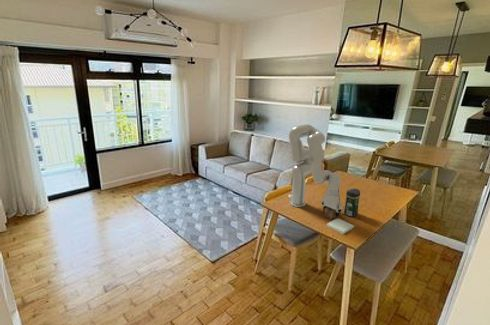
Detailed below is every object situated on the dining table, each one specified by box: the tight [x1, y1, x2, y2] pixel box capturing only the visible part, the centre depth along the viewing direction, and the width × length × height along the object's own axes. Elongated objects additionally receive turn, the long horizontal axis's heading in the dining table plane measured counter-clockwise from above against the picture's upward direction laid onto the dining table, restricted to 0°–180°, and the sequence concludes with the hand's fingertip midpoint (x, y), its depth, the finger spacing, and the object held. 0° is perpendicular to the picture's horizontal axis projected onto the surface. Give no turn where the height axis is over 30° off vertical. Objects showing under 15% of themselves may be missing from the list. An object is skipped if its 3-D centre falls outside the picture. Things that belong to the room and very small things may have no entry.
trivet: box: [326, 217, 355, 235], centre depth 165 cm, size 12×12×2 cm
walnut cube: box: [323, 207, 337, 220], centre depth 177 cm, size 6×6×6 cm
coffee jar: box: [343, 187, 361, 217], centre depth 178 cm, size 10×8×19 cm
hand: (330, 214), depth 177 cm, fingers open, 9 cm apart
